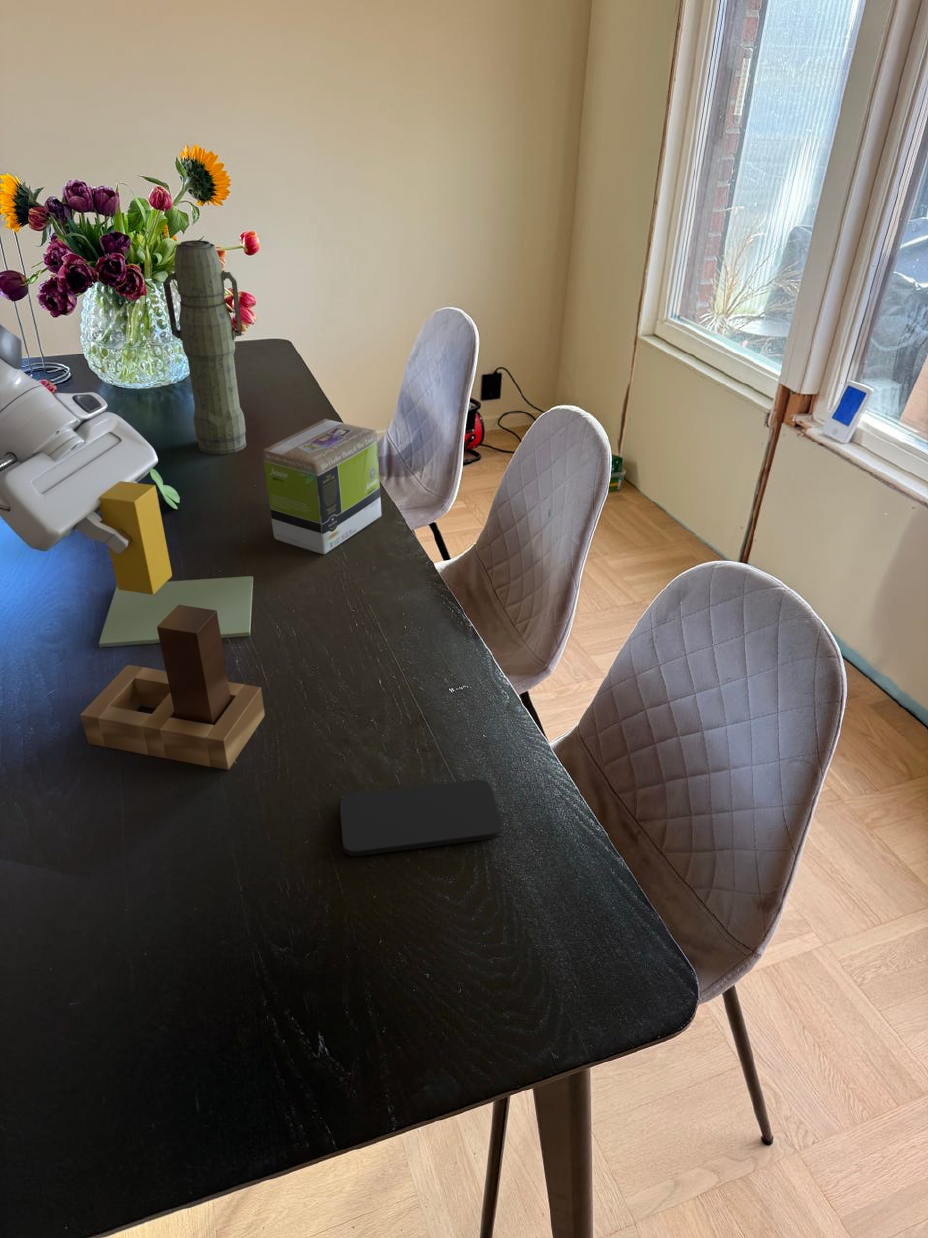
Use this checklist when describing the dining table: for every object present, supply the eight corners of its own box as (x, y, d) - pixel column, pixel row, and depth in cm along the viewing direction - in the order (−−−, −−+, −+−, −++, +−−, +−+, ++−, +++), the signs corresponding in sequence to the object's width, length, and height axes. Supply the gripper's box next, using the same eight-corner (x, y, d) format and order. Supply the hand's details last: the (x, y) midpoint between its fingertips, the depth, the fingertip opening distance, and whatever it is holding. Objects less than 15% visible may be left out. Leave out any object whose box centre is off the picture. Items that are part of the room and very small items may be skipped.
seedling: (158, 533, 140) (190, 510, 139) (133, 524, 132) (167, 500, 131) (136, 498, 141) (167, 475, 140) (110, 487, 133) (144, 463, 132)
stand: (88, 744, 90) (79, 714, 88) (134, 692, 97) (127, 664, 95) (228, 770, 87) (223, 741, 85) (265, 715, 95) (261, 687, 92)
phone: (338, 795, 84) (488, 777, 86) (339, 801, 84) (488, 783, 86) (343, 853, 77) (504, 832, 80) (343, 859, 78) (504, 839, 80)
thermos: (187, 439, 161) (155, 238, 141) (251, 434, 164) (229, 236, 145) (190, 457, 154) (157, 248, 134) (257, 451, 157) (234, 246, 138)
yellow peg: (117, 589, 92) (96, 497, 86) (138, 571, 96) (119, 480, 90) (153, 595, 92) (134, 501, 86) (172, 575, 95) (155, 485, 89)
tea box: (332, 503, 140) (326, 415, 131) (382, 518, 136) (380, 428, 127) (271, 539, 129) (260, 447, 120) (324, 557, 125) (317, 462, 116)
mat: (99, 647, 104) (98, 643, 104) (117, 588, 116) (116, 584, 116) (250, 636, 107) (249, 632, 107) (253, 579, 119) (252, 575, 119)
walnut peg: (181, 744, 90) (156, 626, 82) (199, 719, 94) (178, 604, 86) (217, 751, 90) (196, 633, 81) (235, 725, 93) (216, 610, 85)
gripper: (-21, 458, 77) (100, 566, 80) (105, 387, 93) (201, 480, 97) (-50, 497, 80) (68, 600, 84) (78, 422, 97) (171, 511, 100)
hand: (140, 535), depth 91 cm, fingers closed on yellow peg, 4 cm apart
